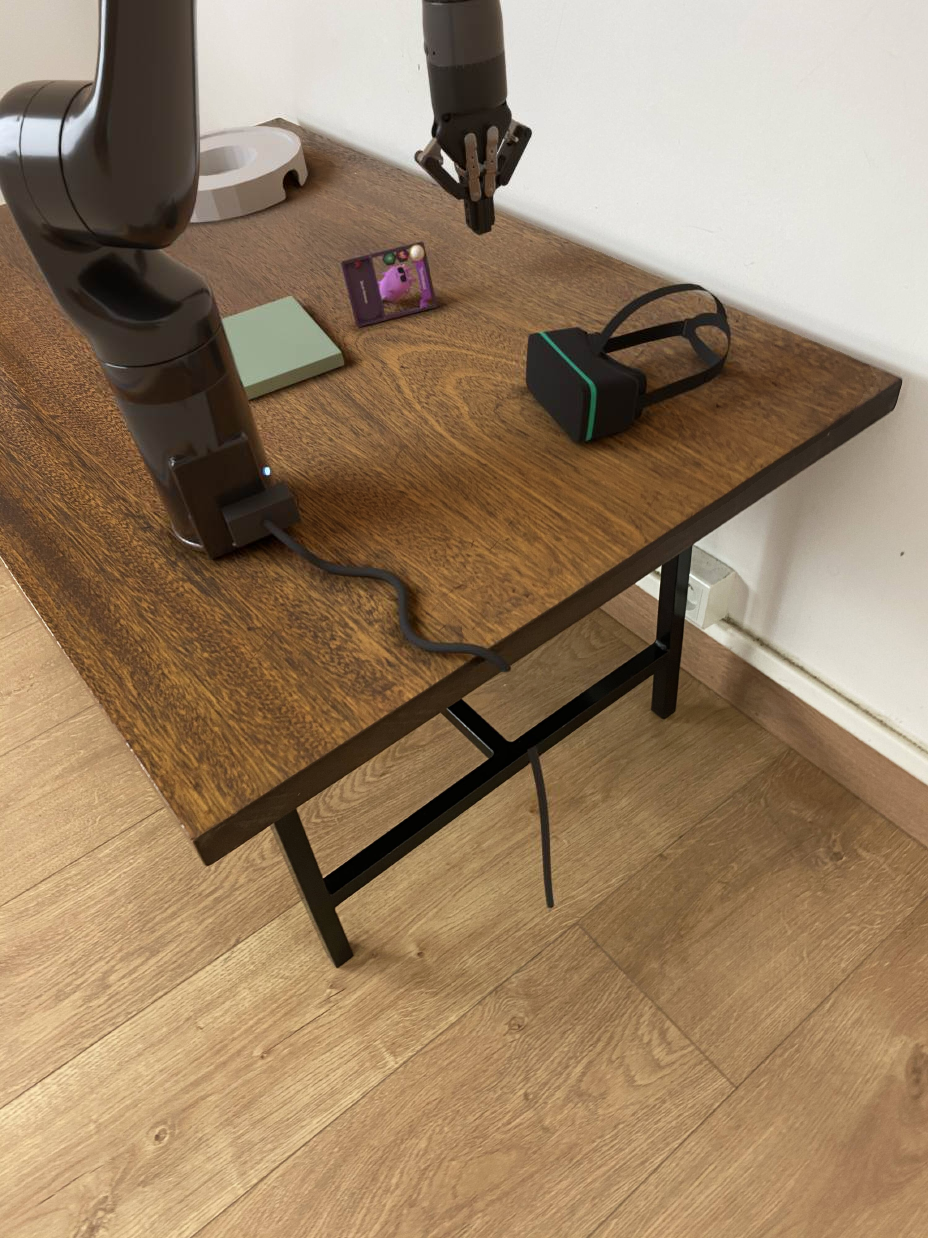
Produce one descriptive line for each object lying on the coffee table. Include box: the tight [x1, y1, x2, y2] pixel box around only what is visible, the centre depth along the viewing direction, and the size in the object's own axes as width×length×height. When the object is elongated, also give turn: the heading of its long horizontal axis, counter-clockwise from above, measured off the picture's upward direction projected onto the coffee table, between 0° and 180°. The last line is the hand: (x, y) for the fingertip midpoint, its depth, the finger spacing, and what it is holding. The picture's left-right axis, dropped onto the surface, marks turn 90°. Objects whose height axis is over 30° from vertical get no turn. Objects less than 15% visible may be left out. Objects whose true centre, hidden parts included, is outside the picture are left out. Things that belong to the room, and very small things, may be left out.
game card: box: [340, 241, 438, 328], centre depth 97 cm, size 7×5×9 cm
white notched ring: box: [190, 125, 309, 223], centre depth 127 cm, size 23×23×4 cm
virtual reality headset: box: [525, 282, 732, 444], centre depth 80 cm, size 11×17×10 cm, turn 112°
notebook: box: [222, 295, 345, 401], centre depth 95 cm, size 15×11×2 cm
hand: (481, 230), depth 98 cm, fingers closed
